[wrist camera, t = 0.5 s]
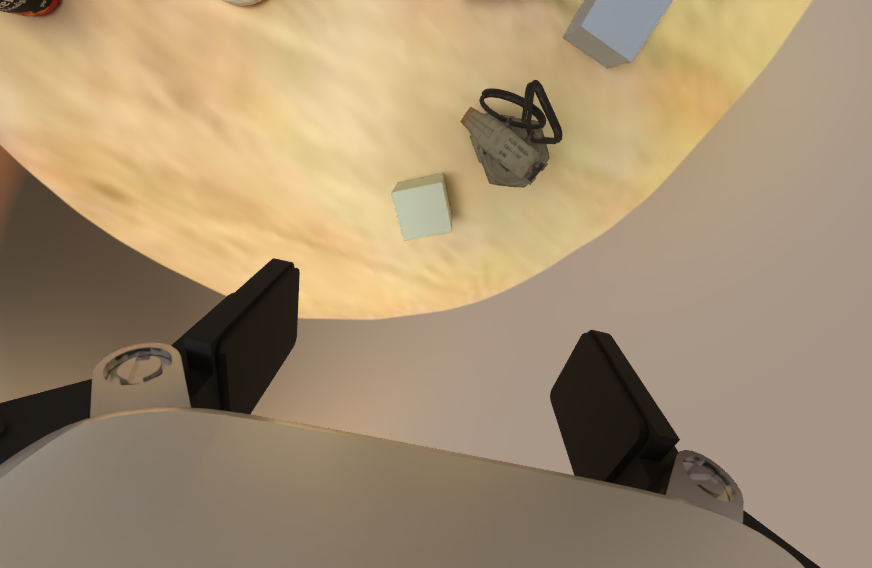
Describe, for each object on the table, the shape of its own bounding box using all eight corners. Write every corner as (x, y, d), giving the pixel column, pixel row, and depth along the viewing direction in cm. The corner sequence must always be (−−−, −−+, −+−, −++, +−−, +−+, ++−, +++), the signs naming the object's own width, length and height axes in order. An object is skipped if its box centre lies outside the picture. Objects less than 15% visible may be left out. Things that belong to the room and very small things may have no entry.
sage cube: (398, 182, 37) (391, 192, 33) (442, 172, 37) (441, 182, 32) (409, 225, 40) (404, 241, 35) (451, 217, 39) (451, 231, 34)
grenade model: (541, 114, 34) (599, 120, 20) (494, 173, 36) (519, 212, 23) (491, 69, 32) (518, 44, 19) (446, 134, 35) (443, 153, 22)
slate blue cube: (599, -27, 29) (626, -52, 24) (645, 7, 30) (679, -10, 25) (562, 37, 31) (580, 26, 26) (606, 67, 32) (631, 62, 27)
